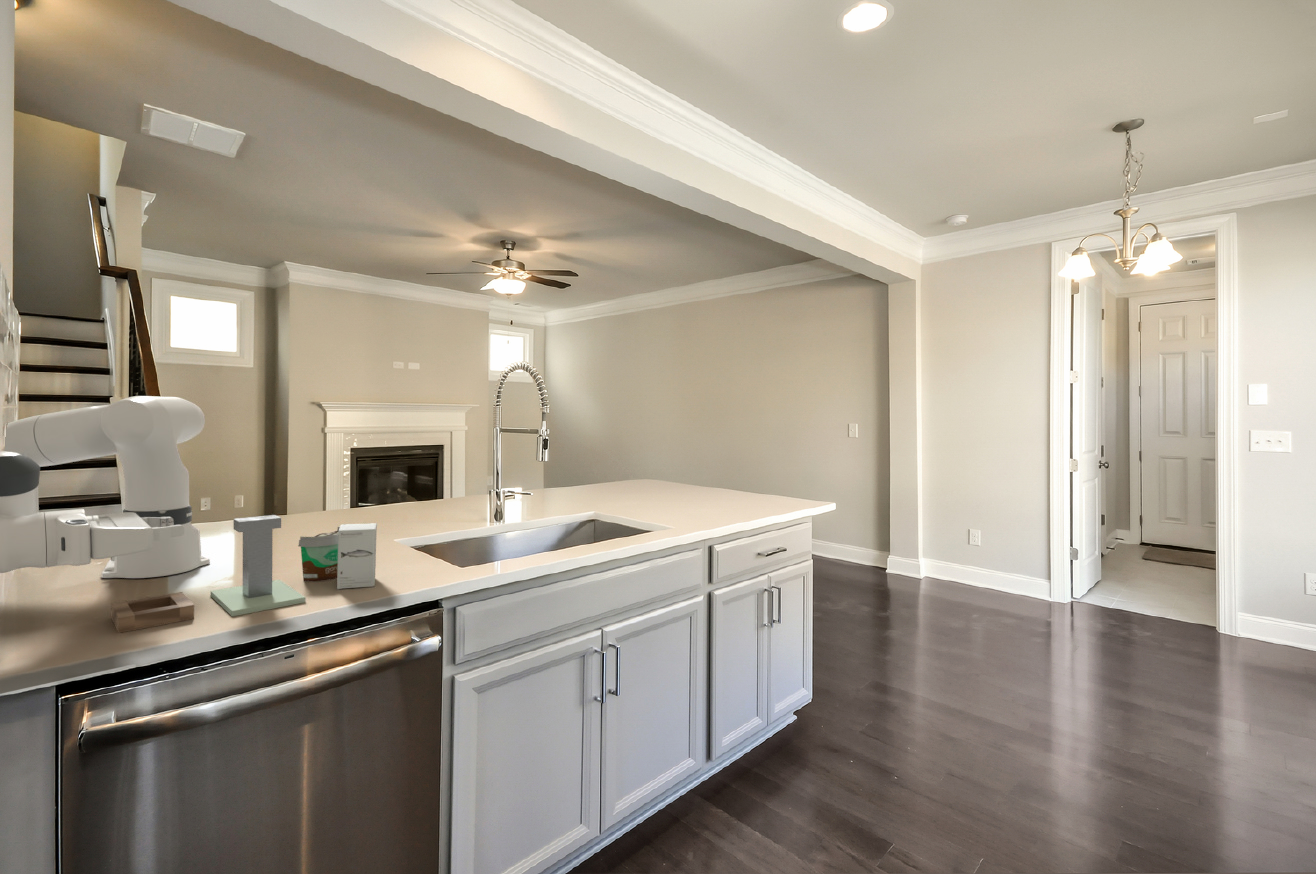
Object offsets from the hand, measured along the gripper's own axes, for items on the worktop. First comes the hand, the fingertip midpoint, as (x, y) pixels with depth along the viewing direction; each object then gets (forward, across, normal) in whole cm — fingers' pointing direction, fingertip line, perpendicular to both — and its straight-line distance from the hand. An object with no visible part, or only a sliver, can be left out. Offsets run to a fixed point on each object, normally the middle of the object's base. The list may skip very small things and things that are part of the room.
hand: (178, 525), depth 108 cm
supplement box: (+30, +1, -17) cm, 35 cm away
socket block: (-4, -1, -16) cm, 17 cm away
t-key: (+12, -1, -15) cm, 20 cm away
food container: (+28, -8, -17) cm, 34 cm away
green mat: (+12, -1, -16) cm, 20 cm away
